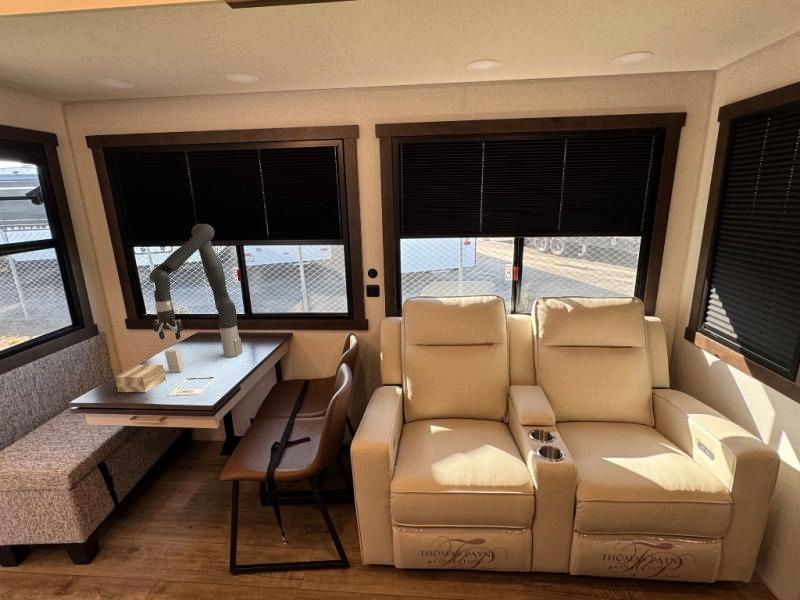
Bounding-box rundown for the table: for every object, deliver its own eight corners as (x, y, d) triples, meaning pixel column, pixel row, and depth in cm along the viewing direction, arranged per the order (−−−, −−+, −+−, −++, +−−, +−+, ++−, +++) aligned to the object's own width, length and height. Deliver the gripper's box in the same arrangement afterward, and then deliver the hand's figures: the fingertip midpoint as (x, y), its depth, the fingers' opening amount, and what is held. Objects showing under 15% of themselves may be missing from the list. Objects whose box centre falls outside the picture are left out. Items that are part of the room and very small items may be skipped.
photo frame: (167, 394, 179) (186, 377, 196) (167, 397, 179) (186, 379, 197) (199, 393, 180) (215, 376, 197) (200, 395, 180) (216, 378, 197)
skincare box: (184, 369, 209) (180, 347, 206) (180, 372, 204) (176, 351, 201) (173, 369, 209) (169, 348, 206) (168, 373, 204) (164, 351, 201)
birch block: (165, 379, 197) (162, 364, 195) (145, 392, 183) (142, 377, 181) (140, 379, 198) (136, 364, 196) (118, 392, 185) (114, 377, 183)
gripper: (182, 307, 201) (187, 336, 205) (157, 307, 202) (162, 336, 206) (173, 311, 194) (178, 341, 198) (146, 311, 195) (152, 341, 199)
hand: (170, 339), depth 202 cm, fingers open, 8 cm apart
